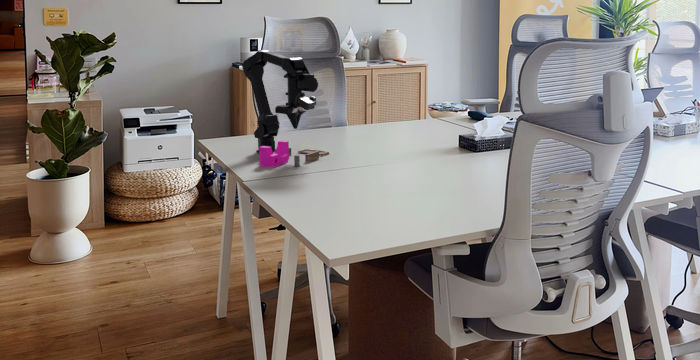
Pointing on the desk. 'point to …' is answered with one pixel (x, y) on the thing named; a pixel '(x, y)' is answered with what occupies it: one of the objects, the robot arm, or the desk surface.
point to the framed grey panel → (308, 155)
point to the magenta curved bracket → (274, 154)
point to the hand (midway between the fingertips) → (295, 128)
